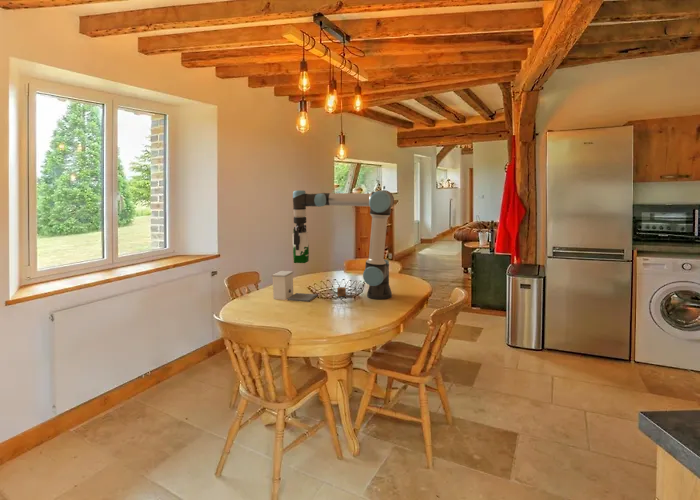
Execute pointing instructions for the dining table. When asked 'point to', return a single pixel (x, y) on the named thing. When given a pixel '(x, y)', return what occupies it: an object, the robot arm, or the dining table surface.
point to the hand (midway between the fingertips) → (301, 254)
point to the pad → (302, 297)
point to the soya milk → (301, 248)
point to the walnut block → (341, 291)
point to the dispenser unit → (282, 285)
